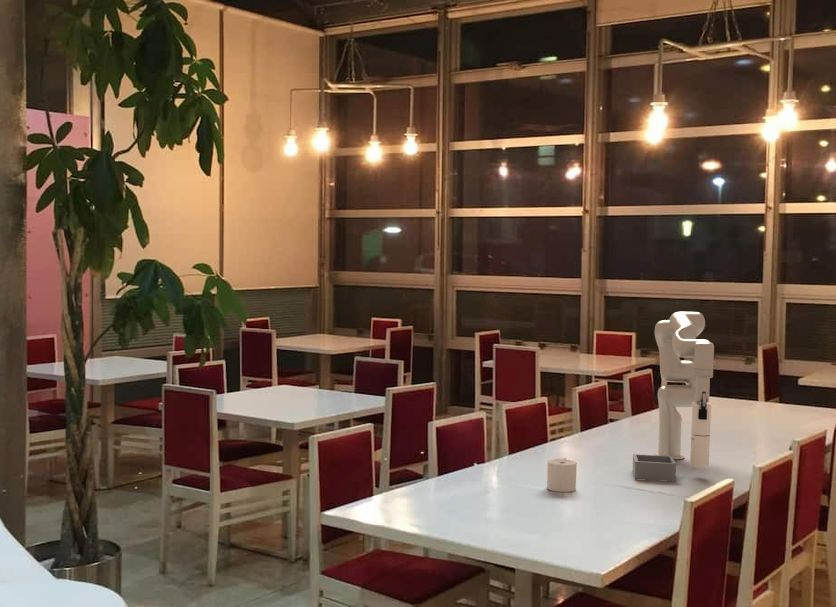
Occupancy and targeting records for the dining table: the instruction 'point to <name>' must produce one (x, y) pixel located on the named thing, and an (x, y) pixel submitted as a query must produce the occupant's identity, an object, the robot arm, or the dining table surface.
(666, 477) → the box
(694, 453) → the cylindrical container
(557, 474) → the toilet tissue
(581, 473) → the dining table surface
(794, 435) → the dining table surface
